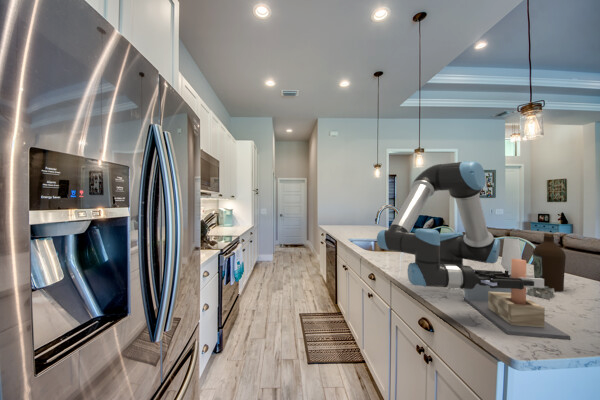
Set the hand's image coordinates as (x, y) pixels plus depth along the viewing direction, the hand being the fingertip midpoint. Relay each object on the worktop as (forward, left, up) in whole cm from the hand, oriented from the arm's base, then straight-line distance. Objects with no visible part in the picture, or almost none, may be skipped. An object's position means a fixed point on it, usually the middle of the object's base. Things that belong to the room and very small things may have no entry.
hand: (537, 281), depth 78 cm
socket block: (-6, -1, -13) cm, 14 cm away
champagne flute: (-5, +26, -14) cm, 30 cm away
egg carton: (+5, +37, -14) cm, 40 cm away
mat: (-7, +2, -14) cm, 16 cm away
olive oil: (+9, +51, -14) cm, 53 cm away
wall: (-13, +12, -13) cm, 22 cm away
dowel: (-5, -3, -9) cm, 11 cm away
